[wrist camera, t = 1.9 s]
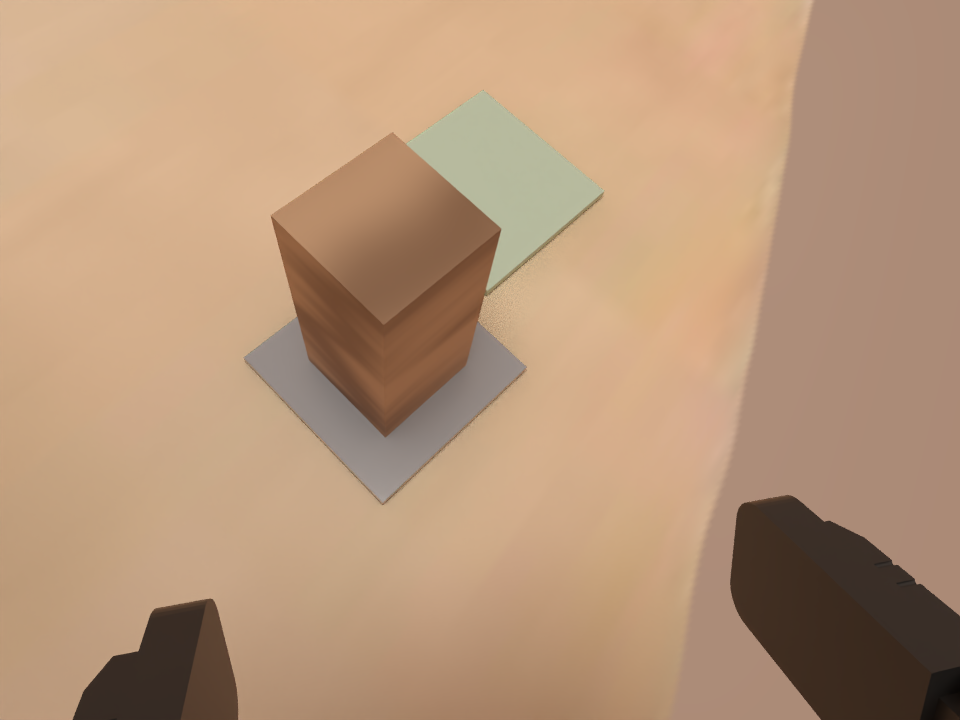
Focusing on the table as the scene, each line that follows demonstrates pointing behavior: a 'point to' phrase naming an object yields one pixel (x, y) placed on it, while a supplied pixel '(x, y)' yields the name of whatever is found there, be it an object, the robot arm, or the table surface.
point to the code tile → (349, 430)
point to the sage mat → (507, 178)
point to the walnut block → (386, 278)
